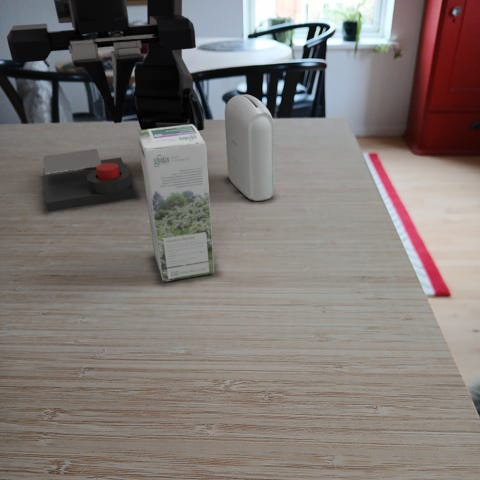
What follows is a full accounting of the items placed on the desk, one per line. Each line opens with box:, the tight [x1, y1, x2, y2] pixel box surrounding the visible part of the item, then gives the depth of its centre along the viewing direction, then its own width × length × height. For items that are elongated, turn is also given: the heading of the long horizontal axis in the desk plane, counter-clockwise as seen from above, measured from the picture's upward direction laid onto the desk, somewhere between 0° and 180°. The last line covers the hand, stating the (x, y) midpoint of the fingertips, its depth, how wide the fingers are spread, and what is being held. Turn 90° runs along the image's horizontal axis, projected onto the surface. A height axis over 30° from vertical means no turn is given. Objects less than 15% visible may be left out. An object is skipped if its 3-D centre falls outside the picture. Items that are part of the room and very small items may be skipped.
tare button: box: [96, 163, 120, 180], centre depth 71 cm, size 3×3×2 cm
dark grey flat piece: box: [42, 157, 137, 213], centre depth 75 cm, size 12×14×3 cm
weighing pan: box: [42, 148, 101, 176], centre depth 76 cm, size 8×8×1 cm
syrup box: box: [136, 124, 215, 283], centre depth 52 cm, size 6×6×14 cm
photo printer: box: [224, 94, 275, 202], centre depth 70 cm, size 10×4×12 cm, turn 20°
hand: (117, 122), depth 59 cm, fingers closed
